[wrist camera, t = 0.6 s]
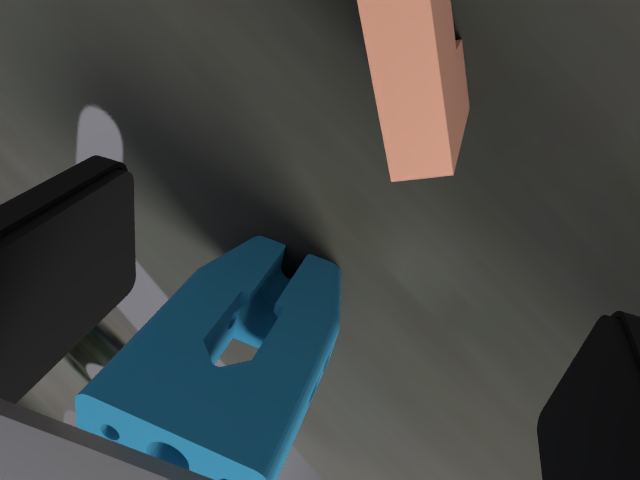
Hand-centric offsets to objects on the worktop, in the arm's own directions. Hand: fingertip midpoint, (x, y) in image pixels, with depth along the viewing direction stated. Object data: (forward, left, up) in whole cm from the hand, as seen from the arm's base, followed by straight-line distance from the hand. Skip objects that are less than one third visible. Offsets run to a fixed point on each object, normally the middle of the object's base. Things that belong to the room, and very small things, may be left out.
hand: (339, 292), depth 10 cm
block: (+16, +16, -27) cm, 35 cm away
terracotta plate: (+1, -2, -27) cm, 27 cm away
